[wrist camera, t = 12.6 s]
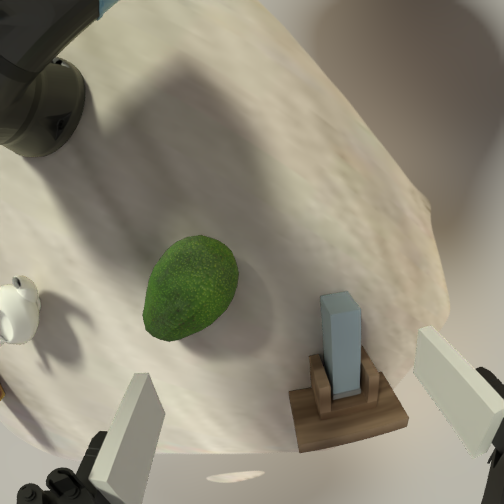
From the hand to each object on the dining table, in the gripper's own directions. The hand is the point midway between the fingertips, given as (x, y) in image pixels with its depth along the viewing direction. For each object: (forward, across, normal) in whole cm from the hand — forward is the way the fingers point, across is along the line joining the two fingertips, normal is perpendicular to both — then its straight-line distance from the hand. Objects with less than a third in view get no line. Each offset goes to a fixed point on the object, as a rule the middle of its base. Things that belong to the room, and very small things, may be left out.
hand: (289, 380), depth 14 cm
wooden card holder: (+29, +9, -23) cm, 38 cm away
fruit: (+29, -10, -4) cm, 31 cm away
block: (+28, +9, -16) cm, 34 cm away
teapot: (+29, -39, -4) cm, 49 cm away
